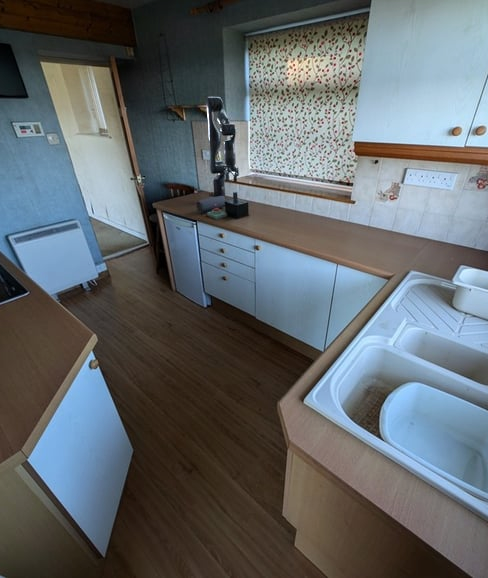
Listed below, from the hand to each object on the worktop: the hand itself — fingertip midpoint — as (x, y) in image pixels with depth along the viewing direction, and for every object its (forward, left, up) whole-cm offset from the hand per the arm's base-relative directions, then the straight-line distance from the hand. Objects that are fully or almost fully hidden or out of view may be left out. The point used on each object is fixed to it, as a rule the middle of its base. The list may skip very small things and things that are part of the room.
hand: (231, 181), depth 210 cm
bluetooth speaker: (-17, -7, -24) cm, 30 cm away
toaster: (+5, 0, -23) cm, 24 cm away
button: (-4, -12, -20) cm, 24 cm away
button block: (-4, -12, -23) cm, 27 cm away
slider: (+1, +2, -13) cm, 13 cm away
